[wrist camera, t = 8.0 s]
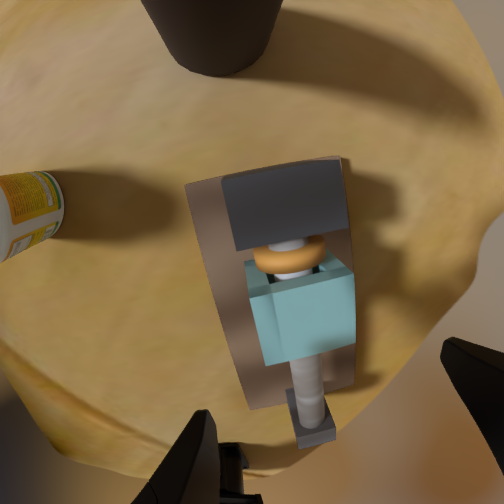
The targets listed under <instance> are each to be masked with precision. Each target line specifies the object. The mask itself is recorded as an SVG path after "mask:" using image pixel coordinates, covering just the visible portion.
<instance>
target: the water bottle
mask: <svg viewBox="0 0 504 504" xmlns="http://www.w3.org/2000/svg"><path fill="white" fill-rule="evenodd" d="M141 2H142V4H143V5H144V7H145V9H146V11H147V12H148V14H149V16H150V18H151V19H152V21H153V23H154V25H155V27H156V28H157V30H158V32H159V34H160V35H161V37H162V39H163V41H164V43H165V44H166V46H167V48H168V50H169V52H170V53H171V55H172V56H173V57H174V59H175V60H176V61H177V63H178V64H180V65H181V66H183V67H185V68H186V69H188V70H189V71H191V72H195V73H199V74H203V75H220V76H222V75H226V74H230V73H235V72H238V71H240V70H242V69H244V68H246V67H248V66H250V65H252V64H253V63H254V62H255V61H256V60H257V59H258V58H259V57H260V56H261V55H262V54H263V52H264V50H265V48H266V46H267V44H268V41H269V39H270V36H271V33H272V30H273V27H274V24H275V21H276V18H277V15H278V13H279V10H280V7H281V4H282V2H283V0H141Z"/></svg>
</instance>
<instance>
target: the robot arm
mask: <svg viewBox="0 0 504 504" xmlns="http://www.w3.org/2000/svg"><path fill="white" fill-rule="evenodd" d="M440 359H441V362H442V364H443V366H444V368H445V370H446V372H447V374H448V376H449V378H450V379H451V382H452V383H453V386H454V387H455V389H456V391H457V392H458V394H459V396H460V397H461V399H462V401H463V402H464V404H465V405H466V407H467V409H468V410H469V412H470V414H471V415H472V417H473V419H474V420H475V422H476V424H477V425H478V427H479V429H480V431H481V432H482V434H483V436H484V438H485V440H486V442H487V443H488V445H489V447H490V449H491V451H492V453H493V455H494V457H495V458H496V461H497V463H498V465H499V467H500V469H501V471H502V473H503V475H504V353H502V352H499V351H496V350H493V349H490V348H487V347H484V346H480V345H477V344H474V343H471V342H468V341H465V340H462V339H459V338H455V337H450V338H448V339H446V340H445V341H444V342H443V346H442V350H441V355H440ZM247 468H249V464H248V462H247V460H246V458H245V456H244V454H243V452H242V450H241V448H240V446H239V445H238V444H236V443H233V444H224V445H218V440H217V430H216V424H215V422H214V420H213V418H212V416H211V414H210V412H209V411H208V410H207V409H204V410H197V411H196V412H195V413H194V414H193V416H192V417H191V419H190V421H189V422H188V424H187V425H186V427H185V428H184V430H183V431H182V433H181V434H180V436H179V437H178V439H177V440H176V442H175V443H174V445H173V446H172V448H171V449H170V450H169V452H168V453H167V455H166V456H165V458H164V459H163V461H162V462H161V464H160V465H159V466H158V468H157V469H156V471H155V472H154V474H153V475H152V477H151V478H150V479H149V482H147V483H146V485H145V486H144V488H143V489H142V490H141V492H140V493H139V494H138V496H137V497H136V498H135V499H134V501H133V502H132V503H131V504H263V501H262V497H261V494H255V495H249V494H248V495H247V494H244V486H243V472H242V469H247Z"/></svg>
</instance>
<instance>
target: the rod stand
mask: <svg viewBox="0 0 504 504" xmlns="http://www.w3.org/2000/svg"><path fill="white" fill-rule="evenodd" d="M184 186H185V190H186V194H187V199H188V203H189V207H190V211H191V215H192V219H193V223H194V227H195V231H196V235H197V239H198V242H199V246H200V250H201V254H202V257H203V261H204V265H205V268H206V272H207V276H208V279H209V283H210V286H211V290H212V293H213V297H214V300H215V304H216V307H217V310H218V314H219V317H220V320H221V324H222V327H223V330H224V333H225V337H226V340H227V343H228V346H229V349H230V352H231V355H232V359H233V362H234V365H235V368H236V371H237V374H238V377H239V380H240V383H241V386H242V388H243V391H244V394H245V397H246V400H247V403H248V406H249V409H250V410H255V409H261V408H266V407H271V406H276V405H281V404H285V403H288V407H289V411H290V415H291V419H292V423H293V427H294V432H295V436H296V440H297V444H298V448H299V449H303V448H307V447H311V446H315V445H319V444H323V443H326V442H329V441H333V440H336V426H335V424H334V421H333V418H332V416H331V413H330V410H329V408H328V405H327V403H326V400H325V398H324V394H325V393H328V392H332V391H335V390H338V389H342V388H345V387H348V386H351V385H354V382H355V346H356V343H353V344H350V345H347V346H343V347H340V348H337V349H333V350H330V351H326V352H323V353H319V354H315V355H311V356H308V357H304V358H300V359H295V360H291V361H287V362H283V363H278V364H274V365H269V366H265V362H264V357H263V353H262V349H261V345H260V341H259V337H258V333H257V328H256V324H255V320H254V316H253V312H252V307H251V303H250V299H249V292H248V286H247V279H246V272H245V265H244V261H248V260H253V259H255V264H256V267H257V269H258V270H260V271H261V272H264V273H268V274H274V278H275V283H276V282H281V281H285V280H290V279H294V278H298V277H303V276H307V275H311V274H313V272H312V268H313V267H315V266H317V265H319V264H320V263H321V262H323V261H324V259H325V258H326V249H325V247H326V248H327V249H328V250H329V251H330V252H331V253H332V254H333V255H334V256H335V257H336V258H338V259H339V260H340V261H341V262H342V263H343V264H344V265H345V266H346V267H347V268H348V269H349V270H350V271H352V272H353V273H354V271H353V257H352V244H351V234H350V224H349V215H348V206H347V199H346V191H345V184H344V177H343V171H342V165H341V159H340V156H330V157H323V158H316V159H309V160H303V161H296V162H290V163H285V164H279V165H273V166H268V167H263V168H257V169H252V170H247V171H243V172H238V173H233V174H228V175H224V176H219V177H215V178H211V179H207V180H202V181H198V182H194V183H190V184H186V185H184Z"/></svg>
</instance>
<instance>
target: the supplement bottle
mask: <svg viewBox="0 0 504 504" xmlns="http://www.w3.org/2000/svg"><path fill="white" fill-rule="evenodd" d="M63 215H64V199H63V195H62V192H61V189H60V186H59V184H58V182H57V181H56V180H55V178H54V177H53V176H51V175H50V174H48V173H46V172H42V171H34V172H25V173H17V174H10V175H3V176H0V263H1V262H3V261H5V260H7V259H9V258H11V257H13V256H15V255H16V254H18V253H20V252H22V251H24V250H26V249H28V248H30V247H31V246H34V245H36V244H38V243H40V242H42V241H44V240H46V239H48V238H49V237H51V236H52V235H53V234H54V233H55V232H56V231H57V230H58V228H59V227H60V225H61V222H62V219H63Z"/></svg>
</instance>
